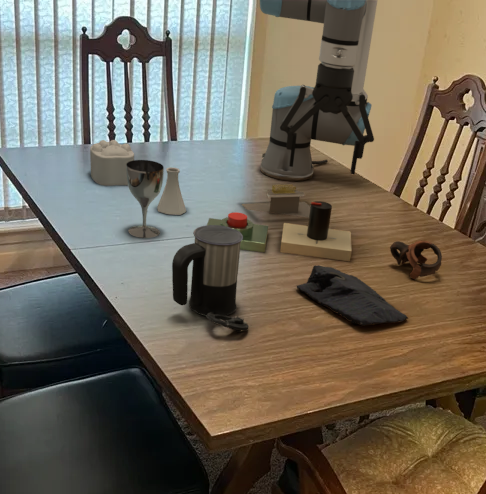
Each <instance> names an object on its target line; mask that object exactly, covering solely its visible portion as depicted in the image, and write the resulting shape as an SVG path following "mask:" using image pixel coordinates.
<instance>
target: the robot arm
mask: <svg viewBox="0 0 486 494" xmlns="http://www.w3.org/2000/svg"><path fill="white" fill-rule="evenodd" d="M377 6H378V0H259V8H260V12H262V13H263V14H264V15H268V16H273V17H276V18H283V19H290V20H298V21H304V22H305V21H306V22H312V23H318V24H323V27H322V35H321V40H320V46H319V55H318V61H320V63H319V64H318V65H317V72H316V77H315V78H316V79H315V85H314V86H309V85H305V84H301V85H287V86H284V87H280V88H279V89H277V90H276V91H275V93H274V95H273V103H272V106H271V108H272V111H271V112H272V113H271V121H270V123H271V124H270V133H269V140H268V145H267V148H266V150H265V152H264V153H262V156H261V158H262V159H261V162H260V166H259V167H260V172H261V173H262V174H263V175H265V176H267V177H270V178H272V179H276V180H281V181H286V182H287V181H289V182H304V181H308V180H310V179H312V178H313V175H314V165H323V164H327V163H328V161H329V160H328V159H324V160H313V159H312V152H311V142H312V140H313V141H319V142H325V143H331V144H336V145H337V144H338V145H342V146H352V147H353V153H352V158H351V165H350V175H352V176H353V175H355V174H356V169H357V168H356V167H357V161H358V159H359V160H361V159H362V158H363V156H364V150H365V145H366V144H367V143H373V142H374V141H375V137H374V134H373V130H372V127H371V122H370V120H369V116H370V113H371V110H372V103H370V102H369V101H368V98H369V95H368V93H367V92H366V91H365V89H364V88H365V87H364V86H365V79H366V75H367V68H368V61H369V55H370V49H371V42H372V36H373V31H374V23H375V18H376V12H377ZM364 133H366V134H365V135H364Z"/></svg>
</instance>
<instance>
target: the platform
mask: <svg viewBox="0 0 486 494" xmlns="http://www.w3.org/2000/svg"><path fill="white" fill-rule="evenodd" d="M296 188H297V186H294V185H293V184H272V185H271V189H267V192H266V196H267V198H270V202H259V203H241V206H242V207H243V208H244V209H245V210H247V211H255V212H262V213H269V214H275V215H285V216H292V217H301V218H307V219H309V215H310V207H311V205H309V204H308V203H307V202H305V201H300V199H301V198H302V197H306V193H305V192H304V191H300V190H297V189H296Z"/></svg>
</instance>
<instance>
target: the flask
mask: <svg viewBox="0 0 486 494" xmlns="http://www.w3.org/2000/svg"><path fill="white" fill-rule="evenodd" d="M165 170H166V173H167V174H166V176H167V177H166V181H165V185H164V188H163V190H162V194H161V196H160V199H159V201H158V204H157V206H156V208H157V212H159V213H162V214H166V215H174V216H175V215H176V216H177V215H178V216H181V215H183V214H185V213H186V212H187V208H186V205H185V200H184V198H183V194H182V191H181V188H180V180H179V174H180V172H181V170H180V168H177V167H172V166H171V167H166V168H165Z"/></svg>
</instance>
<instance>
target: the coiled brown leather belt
mask: <svg viewBox="0 0 486 494" xmlns="http://www.w3.org/2000/svg"><path fill="white" fill-rule="evenodd" d="M389 249H390V250H389V251H390V255H391V256H392V257H393V258H394V259H395V261H396V264H397V265H398V266H401V265H404V264H406V263H409V264H410V266H411V267H412V268H413V269H412V271H411V272H410V273H409V277H410V278H411V279H413V280H417V279H418V278H419V277H420V278H422V277H428V276H431V275H434V274H436V272H438V271H439V270H440V268H441V266H442V260H443V256H442V251H441V250H440V248H439V247H438V246H437V245H436V244H435V243H432V242H431V241H427V240H417V241H415V242H414V243H413V242H412V243H411V244H406V243H404V242H403V241H401V240H400V241H399V240H397V241H394V242H392V244H391V245H390V246H389ZM429 249H431V250H432V251H433V253H434V254H435V255H436V257H437V260H436V261H435V262H433V263H430V264H429V263H427V261H428V258H427V257H426V256H424V255H423V254H422V253H423V252H424V250H429Z"/></svg>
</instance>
